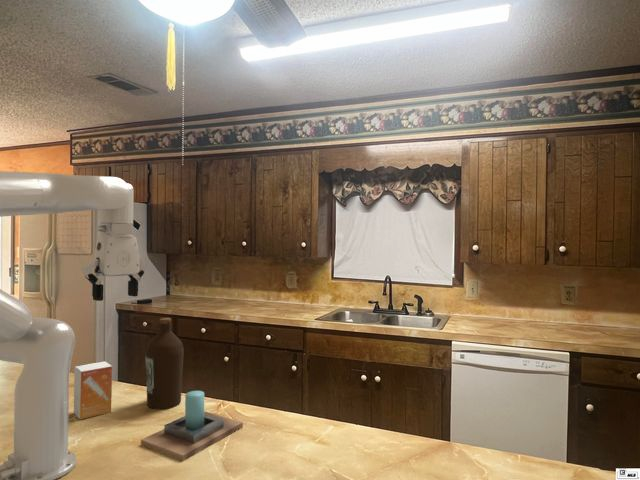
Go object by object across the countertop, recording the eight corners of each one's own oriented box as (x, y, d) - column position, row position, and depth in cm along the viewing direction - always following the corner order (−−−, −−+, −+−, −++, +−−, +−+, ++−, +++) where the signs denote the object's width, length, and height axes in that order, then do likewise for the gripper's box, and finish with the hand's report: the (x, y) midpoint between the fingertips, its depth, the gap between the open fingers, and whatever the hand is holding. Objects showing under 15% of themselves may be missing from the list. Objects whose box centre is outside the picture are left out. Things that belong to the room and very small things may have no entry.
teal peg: (193, 436, 103) (193, 399, 103) (181, 431, 106) (181, 395, 105) (208, 428, 107) (208, 393, 107) (195, 424, 110) (195, 389, 109)
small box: (79, 420, 114) (80, 371, 114) (73, 413, 118) (73, 366, 118) (112, 412, 119) (112, 365, 119) (104, 405, 124) (105, 360, 124)
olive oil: (178, 394, 134) (179, 314, 134) (187, 406, 125) (188, 320, 125) (141, 400, 128) (143, 317, 128) (148, 413, 119) (149, 323, 119)
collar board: (182, 460, 94) (183, 446, 94) (140, 444, 101) (141, 431, 101) (242, 426, 111) (242, 414, 111) (203, 415, 118) (203, 403, 118)
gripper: (93, 230, 100) (92, 303, 100) (155, 231, 115) (154, 295, 115) (74, 230, 104) (73, 300, 104) (136, 231, 119) (136, 293, 119)
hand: (116, 298), depth 109 cm, fingers open, 9 cm apart
